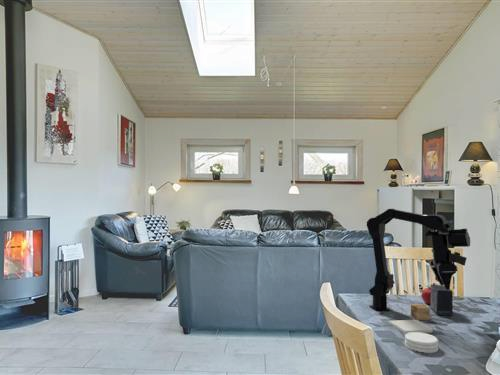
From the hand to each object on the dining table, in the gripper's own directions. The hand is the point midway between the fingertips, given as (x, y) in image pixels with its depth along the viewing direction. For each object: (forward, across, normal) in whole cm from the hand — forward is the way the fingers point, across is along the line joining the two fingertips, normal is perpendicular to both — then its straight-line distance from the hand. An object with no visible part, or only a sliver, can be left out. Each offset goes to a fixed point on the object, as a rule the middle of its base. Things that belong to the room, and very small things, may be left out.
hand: (444, 287), depth 146 cm
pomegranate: (+13, +28, 0) cm, 31 cm away
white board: (+13, -10, +15) cm, 22 cm away
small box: (+13, +15, 0) cm, 20 cm away
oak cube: (+13, +4, +10) cm, 16 cm away
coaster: (+14, -28, +15) cm, 35 cm away
